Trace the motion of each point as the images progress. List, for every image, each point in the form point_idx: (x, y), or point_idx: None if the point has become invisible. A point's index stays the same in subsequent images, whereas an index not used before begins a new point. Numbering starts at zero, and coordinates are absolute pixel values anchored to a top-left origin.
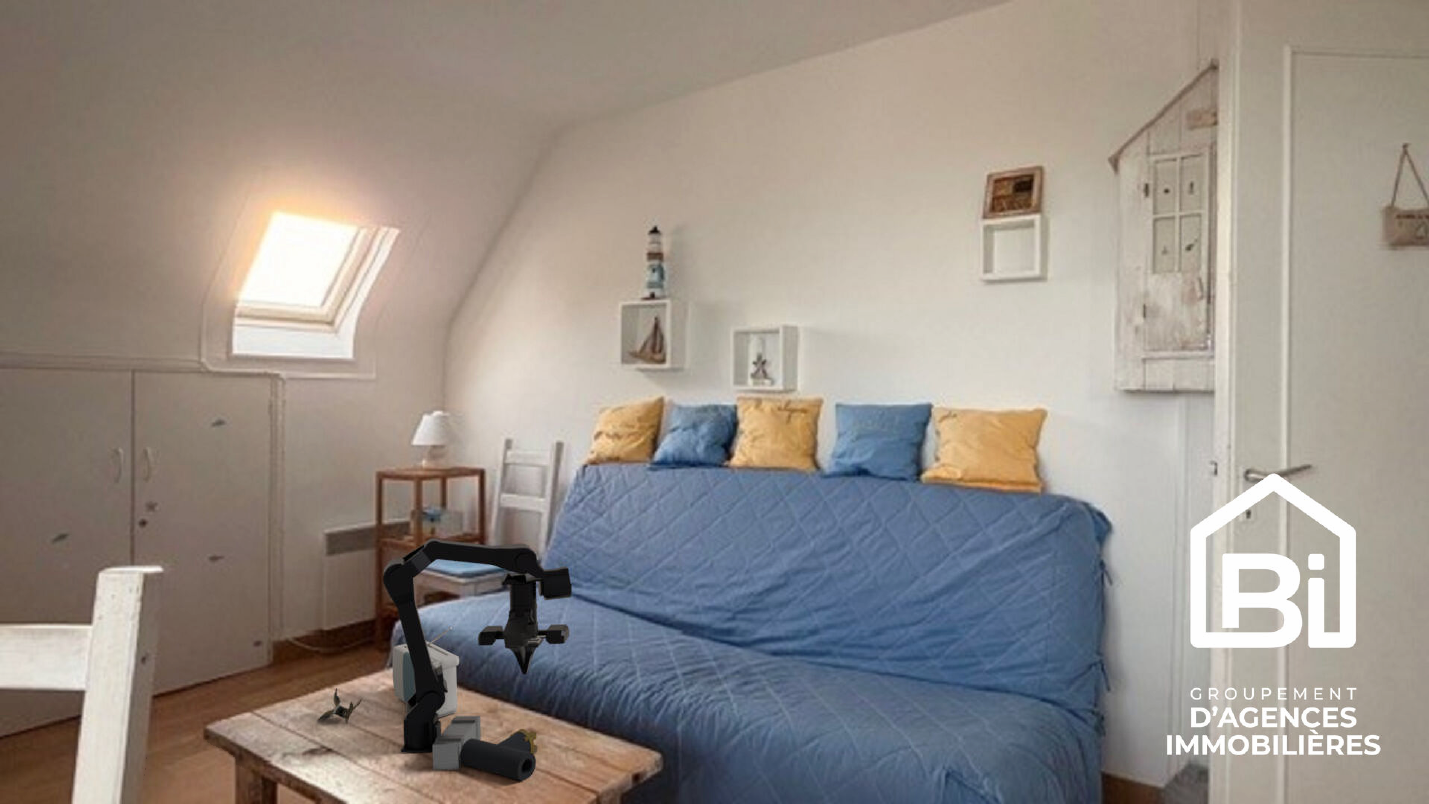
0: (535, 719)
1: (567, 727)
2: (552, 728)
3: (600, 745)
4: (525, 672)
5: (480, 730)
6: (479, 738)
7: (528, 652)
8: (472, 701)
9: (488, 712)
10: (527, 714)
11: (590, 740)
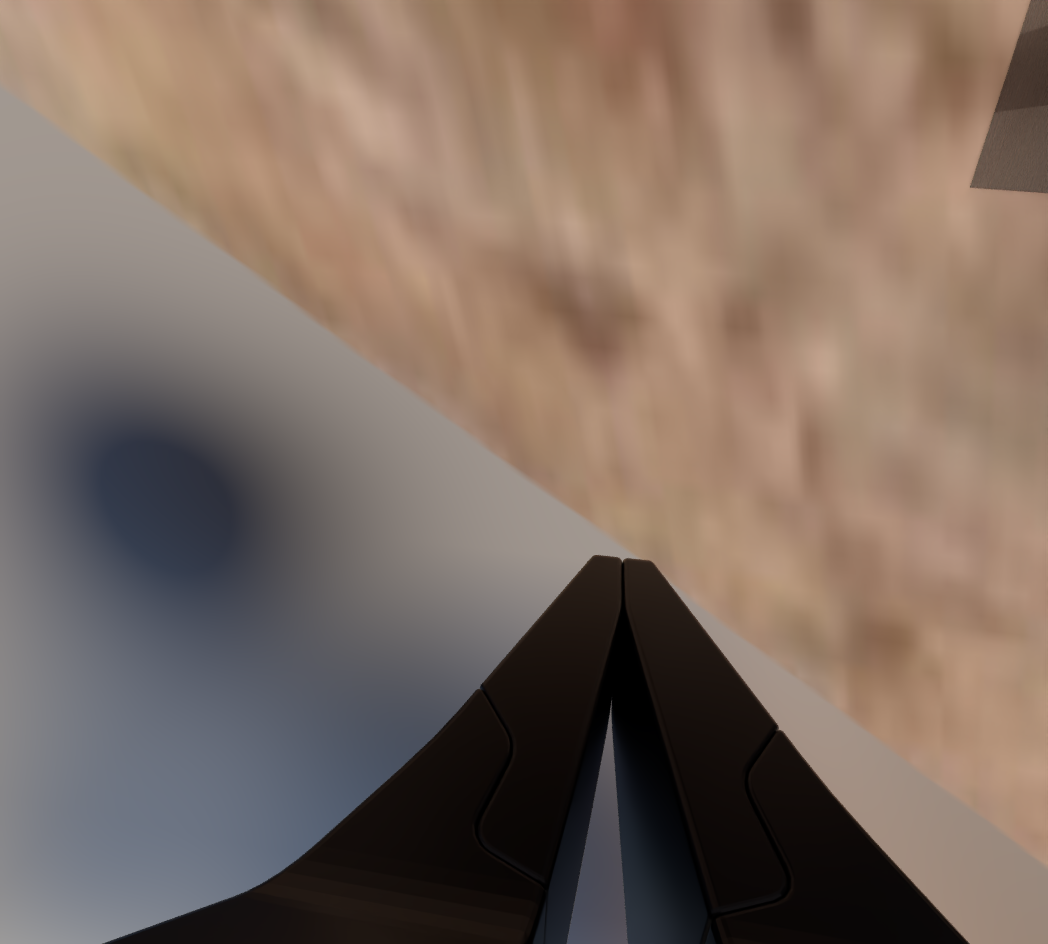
0: (591, 488)
1: (362, 346)
2: (453, 340)
3: (40, 8)
4: (604, 569)
5: (1010, 185)
6: (991, 152)
7: (425, 884)
8: (1008, 774)
9: (907, 626)
10: None
11: (143, 110)
